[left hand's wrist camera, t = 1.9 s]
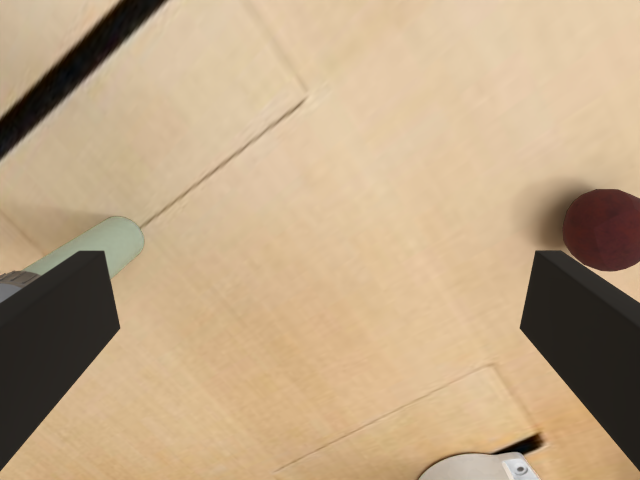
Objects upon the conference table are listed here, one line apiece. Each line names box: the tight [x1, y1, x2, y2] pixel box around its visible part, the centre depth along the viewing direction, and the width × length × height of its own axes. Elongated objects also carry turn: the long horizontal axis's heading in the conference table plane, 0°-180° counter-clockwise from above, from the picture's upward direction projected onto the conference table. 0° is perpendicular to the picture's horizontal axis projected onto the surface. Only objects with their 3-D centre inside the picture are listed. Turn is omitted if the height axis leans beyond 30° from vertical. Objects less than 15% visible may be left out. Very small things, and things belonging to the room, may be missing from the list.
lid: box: [0, 271, 41, 303], centre depth 28 cm, size 6×6×2 cm
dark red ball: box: [563, 189, 640, 271], centre depth 37 cm, size 7×8×7 cm
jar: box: [21, 217, 144, 280], centre depth 34 cm, size 5×5×15 cm
